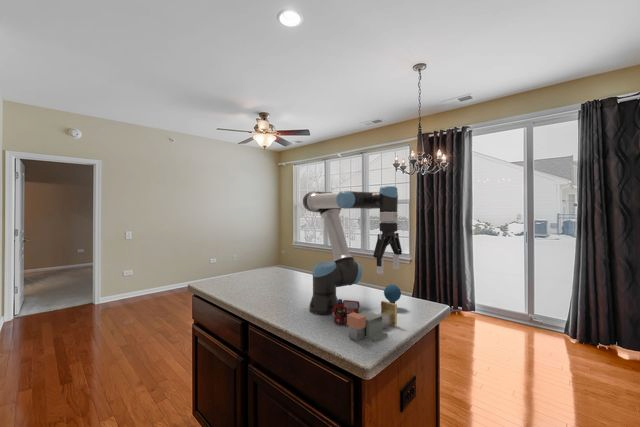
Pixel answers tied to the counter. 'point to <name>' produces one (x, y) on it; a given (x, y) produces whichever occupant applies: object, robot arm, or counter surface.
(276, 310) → the counter surface
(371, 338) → the housing
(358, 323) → the block
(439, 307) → the counter surface
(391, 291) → the teal egg
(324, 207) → the robot arm
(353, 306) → the toy fire truck
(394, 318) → the shaft
